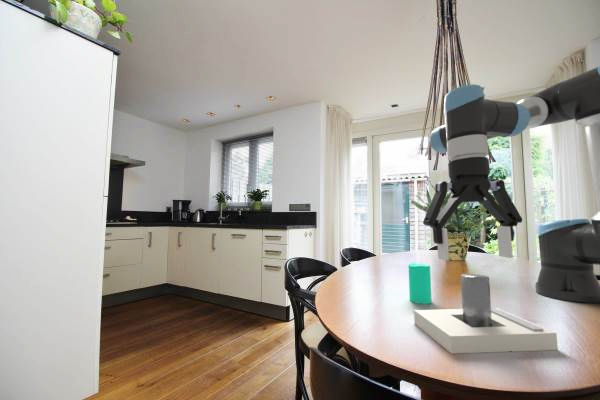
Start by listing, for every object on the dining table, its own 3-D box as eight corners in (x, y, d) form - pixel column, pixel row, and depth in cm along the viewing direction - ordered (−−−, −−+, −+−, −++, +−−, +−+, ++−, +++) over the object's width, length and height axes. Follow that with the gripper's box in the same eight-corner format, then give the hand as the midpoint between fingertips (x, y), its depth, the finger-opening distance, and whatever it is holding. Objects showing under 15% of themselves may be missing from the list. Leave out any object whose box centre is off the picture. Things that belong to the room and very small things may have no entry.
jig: (498, 321, 63) (497, 306, 63) (557, 349, 49) (556, 330, 49) (414, 323, 62) (413, 308, 62) (451, 353, 48) (450, 333, 48)
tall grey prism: (480, 329, 58) (477, 273, 59) (499, 340, 53) (495, 278, 54) (458, 330, 58) (455, 274, 59) (474, 341, 53) (471, 279, 54)
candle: (434, 304, 76) (432, 261, 77) (411, 303, 77) (410, 260, 78) (428, 298, 82) (427, 258, 83) (407, 297, 83) (406, 257, 84)
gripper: (508, 161, 63) (516, 253, 61) (403, 164, 61) (409, 257, 60) (538, 154, 55) (548, 258, 54) (419, 156, 54) (426, 263, 52)
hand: (474, 258), depth 57 cm, fingers open, 13 cm apart
